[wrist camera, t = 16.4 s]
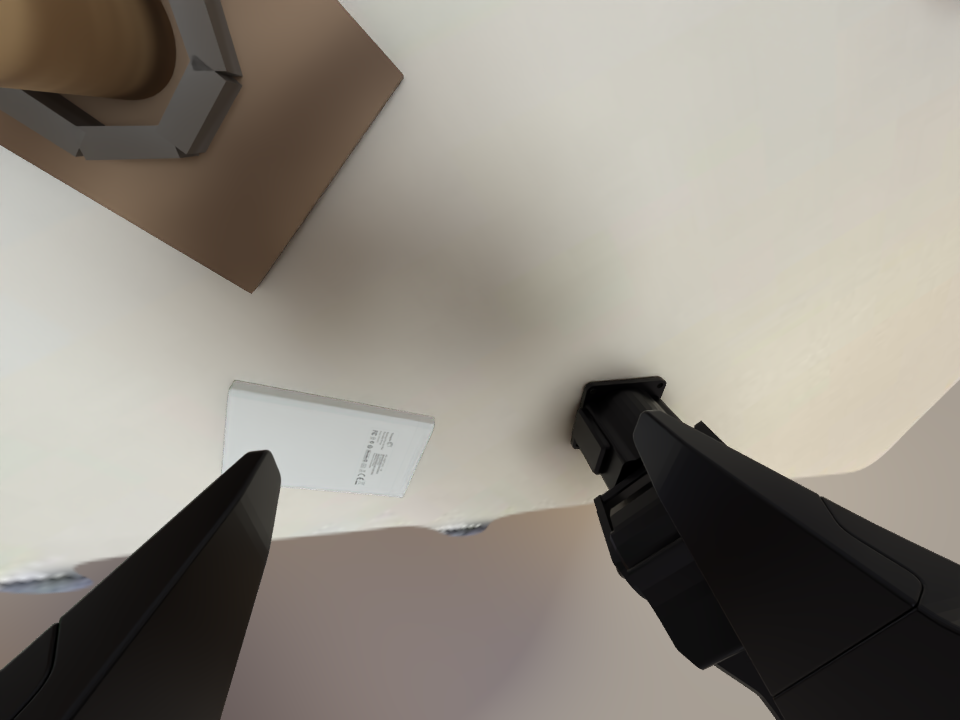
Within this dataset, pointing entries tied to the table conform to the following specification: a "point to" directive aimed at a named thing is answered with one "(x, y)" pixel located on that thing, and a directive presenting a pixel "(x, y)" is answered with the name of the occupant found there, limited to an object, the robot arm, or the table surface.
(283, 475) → the external hard drive
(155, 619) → the robot arm
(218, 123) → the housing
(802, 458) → the table surface
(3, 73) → the light brown tall cylinder
